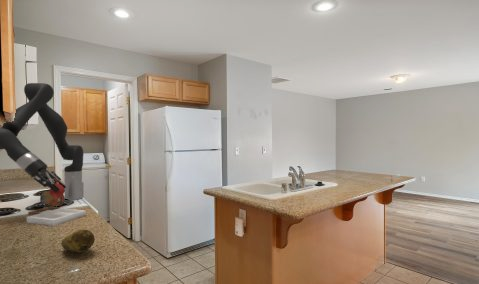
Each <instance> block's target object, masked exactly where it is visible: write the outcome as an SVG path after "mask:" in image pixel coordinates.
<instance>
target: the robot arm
mask: <svg viewBox="0 0 479 284" xmlns="http://www.w3.org/2000/svg"><path fill="white" fill-rule="evenodd" d="M23 88H24V89H23V91H24V94H25V97H26V99H27V100H28V102H26V103H24V104H23V105H21V106H19V107H17V108H16V109H15V110H16V113H15V118H14V121H12V122H6V123H4V122H3V123H4V124H3V123H2V126H1V127H0V150H5V152H6V154H7V156H8V157H9V159H11V160H12V161H13V162H14V163H15V164H17V165H18V166H19V168H21V169H22V170H23V171H24V172H25V173H26V174H27V175H28V176H30V177H31V178H33V180H35V181H36V182H37V183H38V184H40V185H41V186H43V188H49V189H50V188H51V189H52V190H53V191H54V192H55V193H56V192H58V191H59V190H60V188H59V187H57V186H56V185H55V184H56V182H58V183H59V184H60V185H62V186H63V187H64V189H65V192H64V200H65V199H69V200H68V201H75V200H77V201H78V200H80V199H83V198H84V193H85V192H84V182H83V166H84V149H83V147H82V146H81V145H75V144H74V145H73V144H72V145H69V144H68V142H67V140H66V137H67V133H68V125H67V123H66V122H65V120H64V118H63V116H61V114H59V113H58V112H57V111H56V110H54V109H53V108H52V107H50V106H49V104H48V103H49V102H50V101H51V100H52V99H53V97H54V96H55V95H54V93H55V92H54V88H53V86H51V85H50V84H48V83H46V82H45V83H44V82H39V83H38V82H30V83H27V84H25V85H24V87H23ZM36 113H37V114H38V115H39V117H40V119H41V120H42V123H44V126H45V128H46V129H47V131H48V132H49V134H50V135H51V137H52V140H53V141H54V142H55V145H56V148H57V149H58V152H59V154H60V156H61V159H63V160H65V161H72V163H71V164H69V165H66V166H65V167H64V170H63V172H64V174H63V175H64V183H63V182H62V178H61V177H60V176H58V174H57V173H55V172H54V170H53V171H50V170H47V169H48V164H46V163H45V162H44V161H43V160H42V159H41V158H39V157H38V156H37V155H36V154H35V153H33V152H32V151H31V150H29V149H28V148H27V147H26V146H25V145H23V143H22V142H21V141H20V138H18V135H19V133H20V131H22V129H23V128H24V127H25V126H26V124H27V123H28V122H29V121H30V119H31V118H32V117H33V116H34V115H35V114H36Z"/></svg>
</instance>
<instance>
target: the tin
mask: <svg viewBox="0 0 479 284" xmlns="http://www.w3.org/2000/svg"><path fill="white" fill-rule="evenodd" d="M39 201H40V203H41V205H42V204H48V205H52V206H56V207H57V206H58V207H61V206H62V205H63V204H64V202H65V194H63V195H62V196H61V197H60V198H59V199H55V198H53V197H52V196H51V195H50V193H49V190H47V191H46V190H45V191H43V192H42V193H41V194H40V197H39Z"/></svg>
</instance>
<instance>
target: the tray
mask: <svg viewBox="0 0 479 284" xmlns="http://www.w3.org/2000/svg"><path fill="white" fill-rule="evenodd" d="M58 208H59V209H56V210H47V211H43V212H39V213H40V214H36V215H27V216H26V223H27V224H33V225H34V224H35V225H41V226H49V227H56V226H58V225H62V224H65V223H67V222H71V221H74V220H76V219H77V220H78V219H80V218H83V217H86V216H87V211H86V210H82V209H74V208H65V207H58Z"/></svg>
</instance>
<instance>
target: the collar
mask: <svg viewBox="0 0 479 284" xmlns="http://www.w3.org/2000/svg"><path fill="white" fill-rule="evenodd" d="M59 208H60V207H59V206H58V207H46V206H45V207H43V208H39V209H34V210H30V211H28V212H27V216H32V215H36V214H40V213H44V212H48V211H52V210H56V209H59Z"/></svg>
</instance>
